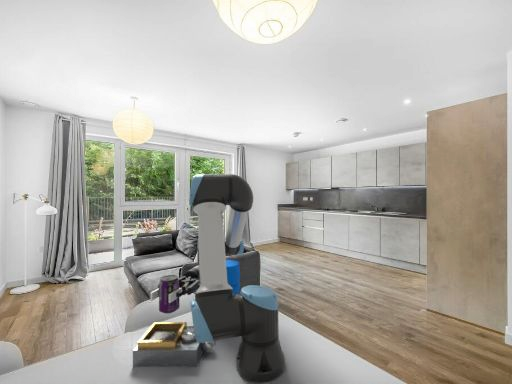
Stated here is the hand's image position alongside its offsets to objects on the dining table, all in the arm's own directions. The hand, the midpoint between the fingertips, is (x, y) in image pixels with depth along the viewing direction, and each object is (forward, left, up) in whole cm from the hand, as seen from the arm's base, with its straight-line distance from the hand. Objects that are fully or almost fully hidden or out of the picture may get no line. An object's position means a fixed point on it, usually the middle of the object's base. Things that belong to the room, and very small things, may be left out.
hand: (160, 297), depth 84 cm
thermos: (-8, -26, -18) cm, 32 cm away
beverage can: (+2, -5, -7) cm, 8 cm away
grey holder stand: (-6, -3, -18) cm, 19 cm away
